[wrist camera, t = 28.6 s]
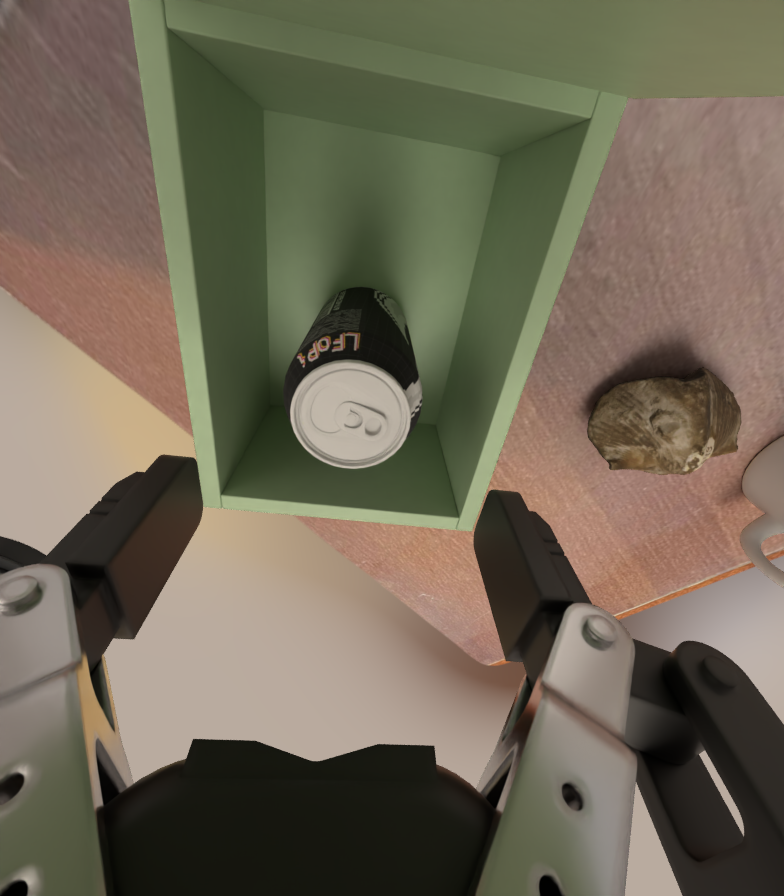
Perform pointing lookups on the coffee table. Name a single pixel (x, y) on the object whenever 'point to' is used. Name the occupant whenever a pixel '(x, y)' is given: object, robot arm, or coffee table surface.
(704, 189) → the coffee table surface
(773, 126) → the coffee table surface
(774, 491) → the mug
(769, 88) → the lid
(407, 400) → the beverage can
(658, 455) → the fossilized seashell
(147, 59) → the chest
